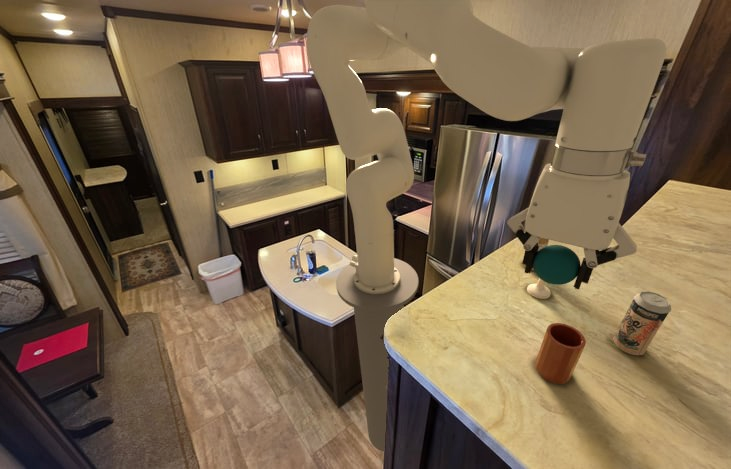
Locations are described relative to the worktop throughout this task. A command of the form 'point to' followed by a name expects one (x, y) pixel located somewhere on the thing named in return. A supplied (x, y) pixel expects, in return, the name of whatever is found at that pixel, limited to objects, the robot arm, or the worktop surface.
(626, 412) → the worktop surface
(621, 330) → the beer can
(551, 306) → the worktop surface
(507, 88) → the robot arm
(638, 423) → the worktop surface
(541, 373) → the tumbler
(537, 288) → the chess piece
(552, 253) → the ball
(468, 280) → the worktop surface
